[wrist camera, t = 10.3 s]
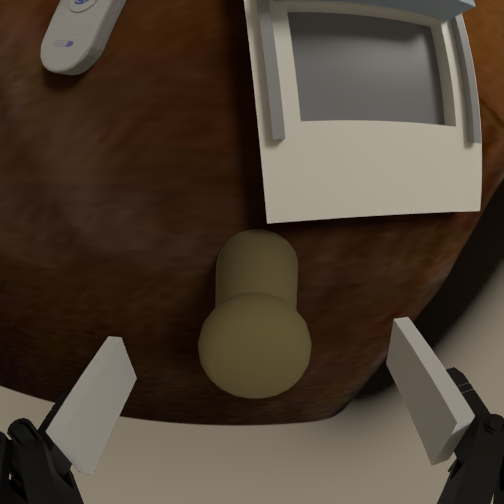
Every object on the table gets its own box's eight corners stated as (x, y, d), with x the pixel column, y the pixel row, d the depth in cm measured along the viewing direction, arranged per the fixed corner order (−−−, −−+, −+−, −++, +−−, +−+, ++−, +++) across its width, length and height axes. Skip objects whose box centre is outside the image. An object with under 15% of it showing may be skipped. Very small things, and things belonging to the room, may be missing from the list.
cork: (199, 269, 23) (155, 368, 12) (255, 211, 21) (251, 280, 11) (257, 318, 24) (255, 431, 14) (315, 268, 22) (353, 367, 12)
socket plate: (232, -84, 12) (229, -105, 9) (413, -66, 11) (427, -82, 8) (266, 214, 21) (267, 227, 18) (462, 203, 20) (486, 213, 17)
